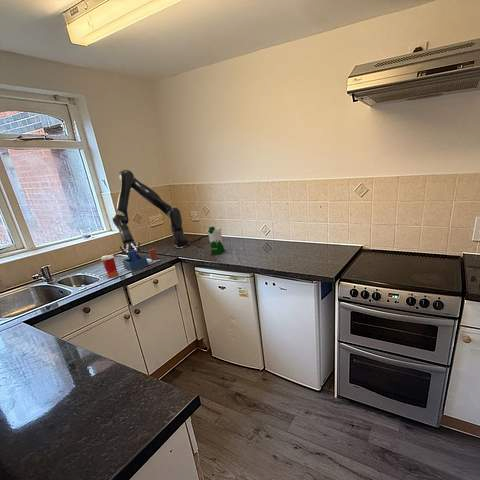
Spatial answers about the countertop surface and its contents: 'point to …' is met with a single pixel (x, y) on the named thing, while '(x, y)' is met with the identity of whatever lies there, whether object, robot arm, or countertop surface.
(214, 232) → the milk carton
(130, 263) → the blue bin
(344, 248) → the countertop surface
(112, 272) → the beer glass
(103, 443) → the countertop surface
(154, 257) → the terracotta skittle
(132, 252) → the blue skittle
